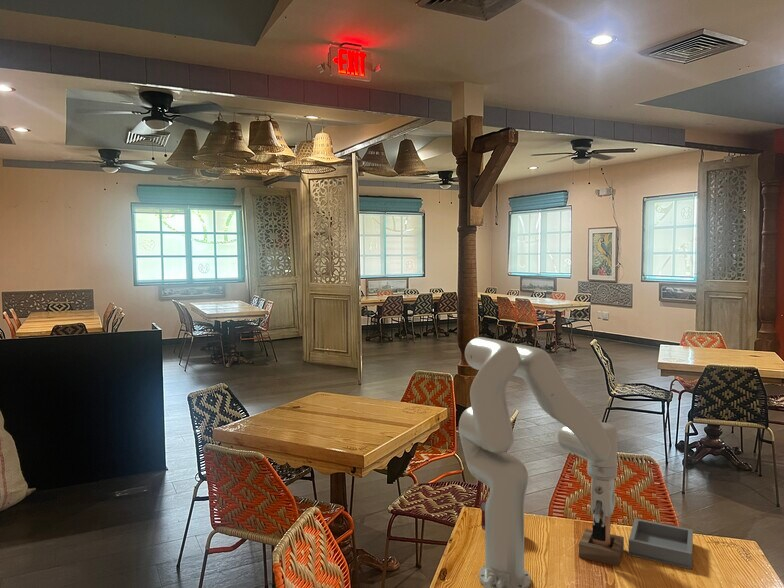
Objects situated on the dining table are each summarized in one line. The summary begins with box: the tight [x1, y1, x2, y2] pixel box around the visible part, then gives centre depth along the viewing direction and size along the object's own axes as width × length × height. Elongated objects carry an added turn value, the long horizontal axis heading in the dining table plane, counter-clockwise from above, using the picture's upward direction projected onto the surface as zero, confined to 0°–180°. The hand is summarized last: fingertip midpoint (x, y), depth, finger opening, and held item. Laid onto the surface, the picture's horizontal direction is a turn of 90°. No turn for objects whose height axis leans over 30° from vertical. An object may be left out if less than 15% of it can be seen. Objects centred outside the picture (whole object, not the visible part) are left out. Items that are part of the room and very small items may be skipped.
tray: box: [627, 517, 694, 570], centre depth 151 cm, size 15×15×4 cm
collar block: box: [578, 528, 625, 567], centre depth 149 cm, size 10×10×4 cm
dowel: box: [592, 512, 611, 548], centre depth 149 cm, size 4×4×11 cm
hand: (601, 532), depth 149 cm, fingers open, 8 cm apart
